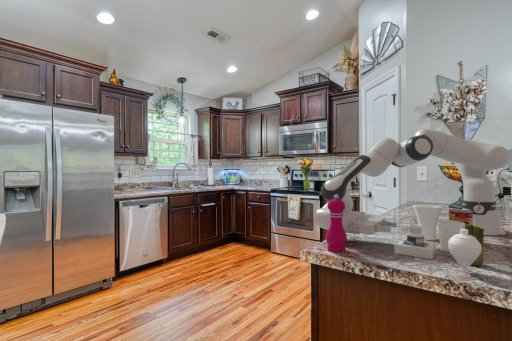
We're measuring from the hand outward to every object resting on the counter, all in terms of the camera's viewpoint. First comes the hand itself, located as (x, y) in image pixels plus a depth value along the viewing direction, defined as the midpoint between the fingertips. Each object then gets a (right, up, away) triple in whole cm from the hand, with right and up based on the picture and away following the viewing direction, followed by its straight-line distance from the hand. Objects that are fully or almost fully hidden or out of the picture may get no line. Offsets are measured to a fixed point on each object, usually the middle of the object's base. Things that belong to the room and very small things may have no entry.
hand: (393, 227), depth 103 cm
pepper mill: (-21, -8, -1) cm, 23 cm away
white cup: (+20, -8, -2) cm, 21 cm away
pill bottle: (+6, -8, -4) cm, 11 cm away
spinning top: (+9, -8, -23) cm, 26 cm away
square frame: (+6, -8, -4) cm, 10 cm away
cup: (+21, -8, +15) cm, 27 cm away
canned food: (+33, -8, +12) cm, 36 cm away
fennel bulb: (+16, -8, -17) cm, 25 cm away
